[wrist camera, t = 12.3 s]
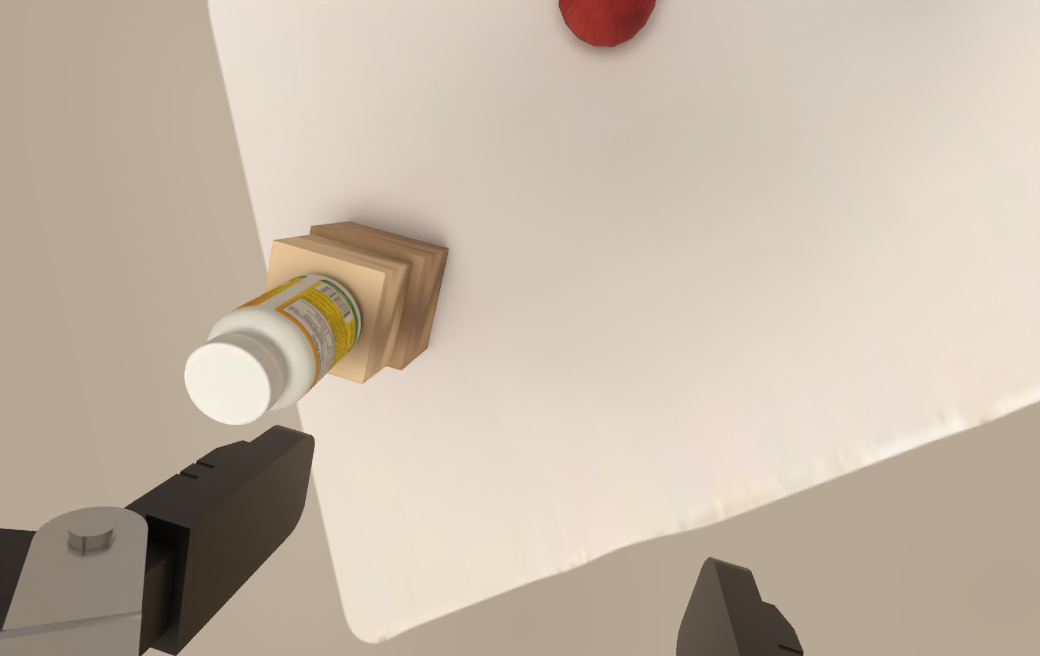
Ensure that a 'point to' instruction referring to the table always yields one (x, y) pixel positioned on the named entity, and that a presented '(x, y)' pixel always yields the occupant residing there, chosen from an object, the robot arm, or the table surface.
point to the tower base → (421, 282)
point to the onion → (605, 19)
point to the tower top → (368, 281)
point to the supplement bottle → (272, 349)
